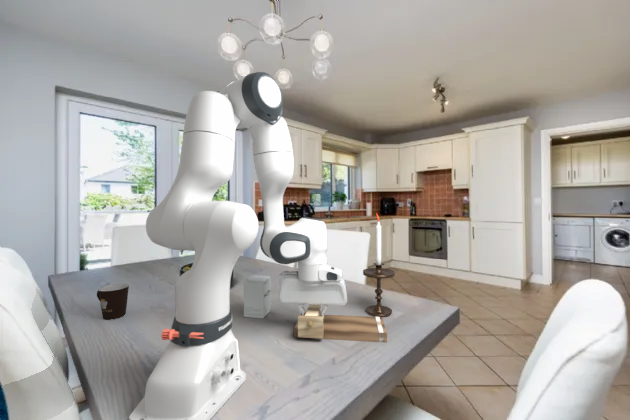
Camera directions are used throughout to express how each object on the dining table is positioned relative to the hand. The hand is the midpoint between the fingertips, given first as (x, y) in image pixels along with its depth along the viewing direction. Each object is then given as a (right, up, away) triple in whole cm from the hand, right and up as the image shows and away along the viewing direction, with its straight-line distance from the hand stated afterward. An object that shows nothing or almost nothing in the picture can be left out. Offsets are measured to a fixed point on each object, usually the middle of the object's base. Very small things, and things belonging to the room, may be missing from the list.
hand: (313, 317), depth 83 cm
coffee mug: (-70, -5, +14) cm, 71 cm away
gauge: (0, -3, -1) cm, 3 cm away
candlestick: (+23, -4, +15) cm, 28 cm away
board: (+8, -4, +1) cm, 9 cm away
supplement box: (-19, -4, +14) cm, 24 cm away
